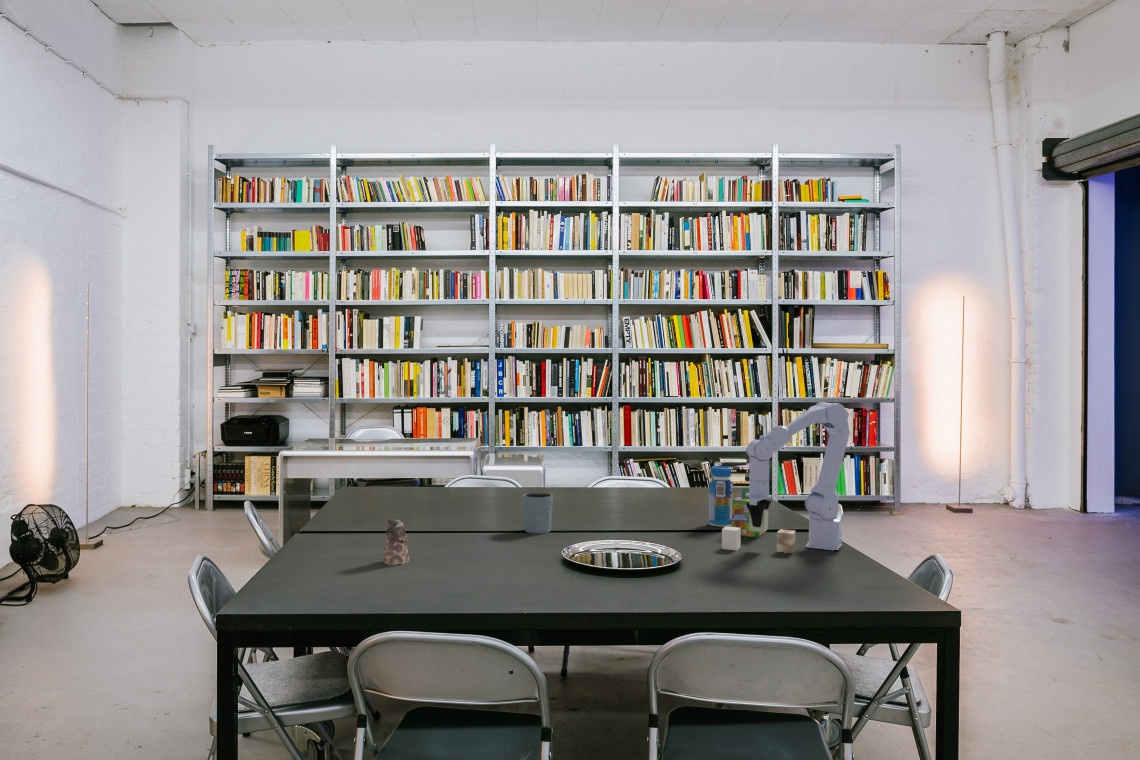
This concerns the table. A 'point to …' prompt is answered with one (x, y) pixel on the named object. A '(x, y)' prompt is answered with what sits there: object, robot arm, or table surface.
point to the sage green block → (763, 524)
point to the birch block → (786, 541)
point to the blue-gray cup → (537, 512)
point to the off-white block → (731, 538)
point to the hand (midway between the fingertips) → (758, 525)
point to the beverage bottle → (720, 497)
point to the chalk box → (742, 515)
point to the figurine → (396, 544)
